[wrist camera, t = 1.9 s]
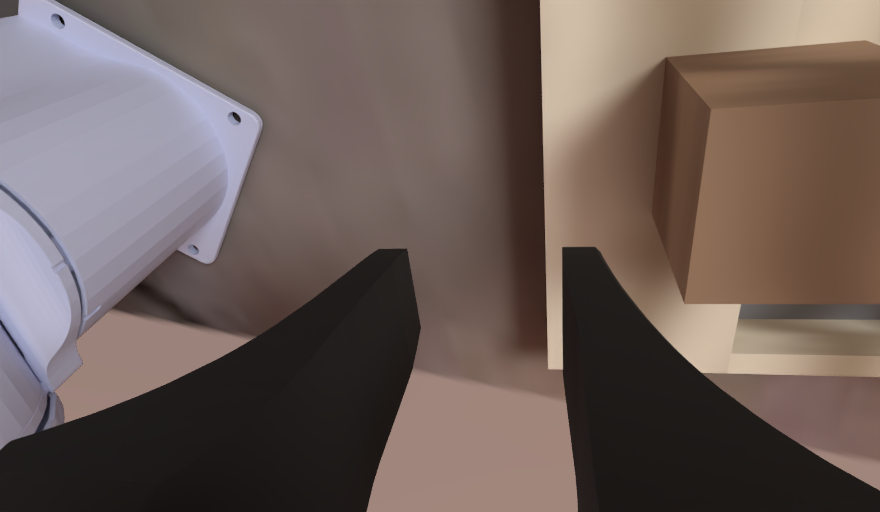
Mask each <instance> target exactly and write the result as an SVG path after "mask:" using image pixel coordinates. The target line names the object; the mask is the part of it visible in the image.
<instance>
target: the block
mask: <svg viewBox="0 0 880 512" xmlns="http://www.w3.org/2000/svg"><path fill="white" fill-rule="evenodd" d="M652 216H653V219H654V222H655V224H656V227H657V230H658V233H659V235H660V238H661V241H662V244H663V247H664V249H665V252H666V255H667V258H668V260H669V263H670V266H671V269H672V271H673V274H674V277H675V280H676V282H677V285H678V288H679V291H680V294H681V296H682V299H683V302H684V304H880V45H877V44H874V43H872V42H869V41H867V40H862V41H850V42H838V43H826V44H815V45H803V46H791V47H779V48H767V49H756V50H744V51H732V52H720V53H708V54H697V55H685V56H673V57H666V61H665V72H664V83H663V94H662V105H661V117H660V128H659V139H658V150H657V161H656V172H655V183H654V194H653V205H652Z"/></svg>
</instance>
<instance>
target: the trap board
mask: <svg viewBox="0 0 880 512" xmlns="http://www.w3.org/2000/svg"><path fill="white" fill-rule="evenodd" d="M540 24H541V68H542V113H543V158H544V202H545V247H546V292H547V336H548V369H563V335H562V247H596V248H597V249H598V250H599V251H600V252H601V254H602V256H603V258H604V259H605V261H606V263H607V265H608V266H609V268H610V269H611V271H612V273H613V274H614V275H615V277H616V278H617V280H618V281H619V283H620V284H621V286H622V287H623V288H624V290H625V291H626V292H627V294H628V295H629V296H630V298H631V299H632V300H633V301H634V303H635V304H636V305H637V306H638V308H639V309H640V310H641V311H642V313H643V314H644V315H645V316H646V317H647V319H648V320H649V321H650V322H651V323H652V324H653V325H654V326H655V328H656V329H657V330H658V331H659V332H660V333H661V334H662V335H663V336H664V337H665V338H666V340H667V341H668V342H669V343H670V344H671V345H672V346H673V347H674V348H675V349H676V350H677V351H678V352H679V353H680V354H681V355H682V356H683V357H685V358H686V359H687V360H688V361H689V362H690V363H691V364H692V365H693V366H694V367H695V368H697V369H698V370H699V371H700V372H701V373H734V374H775V375H817V376H859V377H880V304H684V302H683V299H682V296H681V294H680V291H679V288H678V285H677V282H676V280H675V277H674V274H673V271H672V269H671V266H670V263H669V260H668V258H667V255H666V252H665V249H664V247H663V244H662V241H661V238H660V235H659V233H658V230H657V227H656V224H655V222H654V219H653V216H652V205H653V194H654V183H655V172H656V161H657V150H658V139H659V128H660V117H661V105H662V94H663V83H664V72H665V61H666V57H673V56H685V55H697V54H708V53H720V52H732V51H744V50H756V49H767V48H779V47H791V46H803V45H815V44H826V43H838V42H850V41H862V40H867V41H869V42H872V43H874V44H877V45H880V0H540Z"/></svg>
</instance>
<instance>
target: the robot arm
mask: <svg viewBox="0 0 880 512" xmlns="http://www.w3.org/2000/svg"><path fill="white" fill-rule="evenodd" d="M59 15H60V16H61V17H62V18H63V20H64V22H65V26H64V25H63V24H62V23H61V21H60V19H59ZM233 112H235V113H237V114H238V115H239V116H240V118H241V122H238V121H236V120H235V119H234V117H233ZM262 127H263V123H262V120H261V118H260V117H259V115H258V114H257V113H255V112H254V111H252V110H250V109H249V108H247V107H245V106H243V105H241V104H240V103H238V102H236V101H234V100H233V99H231V98H229V97H227V96H225V95H224V94H222V93H220V92H218V91H216V90H215V89H213V88H211V87H209V86H207V85H206V84H204V83H202V82H200V81H198V80H197V79H195V78H193V77H191V76H189V75H188V74H186V73H184V72H182V71H180V70H179V69H177V68H175V67H173V66H171V65H170V64H168V63H166V62H164V61H162V60H161V59H159V58H157V57H155V56H153V55H152V54H150V53H148V52H146V51H145V50H143V49H141V48H139V47H137V46H136V45H134V44H132V43H130V42H128V41H127V40H125V39H123V38H121V37H119V36H118V35H116V34H114V33H112V32H110V31H109V30H107V29H105V28H103V27H101V26H100V25H98V24H96V23H94V22H92V21H91V20H89V19H87V18H85V17H83V16H82V15H80V14H78V13H76V12H74V11H73V10H71V9H69V8H67V7H65V6H64V5H62V4H60V3H58V2H57V1H55V0H19V9H18V15H16V16H11V17H5V18H0V512H366V511H367V507H368V503H369V498H370V495H371V490H372V486H373V482H374V479H375V476H376V473H377V469H378V466H379V463H380V460H381V457H382V454H383V451H384V449H385V446H386V443H387V440H388V437H389V435H390V432H391V429H392V426H393V423H394V421H395V418H396V415H397V412H398V409H399V407H400V404H401V401H402V398H403V395H404V392H405V389H406V386H407V384H408V381H409V378H410V375H411V372H412V369H413V364H414V359H415V355H416V350H417V345H418V340H419V334H420V329H421V326H420V320H419V315H418V309H417V303H416V297H415V292H414V286H413V280H412V274H411V269H410V263H409V257H408V251H407V249H378V250H377V251H375V252H374V253H372V254H371V255H369V256H368V257H367V258H365V259H364V260H363V261H361V262H360V263H359V264H357V265H356V266H355V267H354V268H352V269H351V270H350V271H348V272H347V273H346V274H345V275H343V276H342V277H341V278H339V279H338V280H337V281H336V282H334V283H333V284H332V285H330V286H329V287H328V288H327V289H325V290H324V291H323V292H321V293H320V294H319V295H317V296H316V297H315V298H313V299H312V300H311V301H309V302H308V303H306V304H305V305H303V306H302V307H301V308H299V309H298V310H296V311H295V312H293V313H292V314H291V315H289V316H288V317H286V318H285V319H284V320H282V321H281V322H279V323H278V324H276V325H275V326H273V327H272V328H270V329H269V330H267V331H266V332H264V333H262V334H261V335H259V336H257V337H256V338H254V339H253V340H251V341H249V342H247V343H246V344H244V345H242V346H240V347H239V348H237V349H235V350H234V351H232V352H230V353H228V354H226V355H224V356H223V357H221V358H219V359H217V360H215V361H213V362H211V363H209V364H207V365H205V366H203V367H201V368H199V369H196V370H195V371H192V372H191V373H188V374H186V375H185V376H182V377H180V378H178V379H176V380H174V381H172V382H170V383H168V384H166V385H163V386H161V387H159V388H156V389H154V390H152V391H149V392H147V393H145V394H142V395H140V396H138V397H135V398H132V399H130V400H127V401H125V402H122V403H120V404H117V405H115V406H112V407H109V408H107V409H104V410H102V411H99V412H96V413H93V414H91V415H88V416H85V417H82V418H79V419H76V420H73V421H70V422H67V423H64V409H63V405H62V402H61V401H60V399H59V397H58V396H57V394H55V392H54V391H55V390H56V389H57V388H58V387H60V386H61V385H62V384H63V382H65V381H66V380H67V379H68V378H69V377H70V376H71V375H72V374H73V373H74V372H75V371H76V370H77V369H78V368H79V367H80V366H81V365H82V364H83V363H82V360H81V358H80V356H79V354H78V351H77V347H76V340H77V339H78V338H79V337H80V336H82V335H83V334H84V333H85V332H86V331H87V330H88V329H89V328H90V327H91V326H93V325H94V324H95V323H96V322H97V321H98V320H99V319H100V318H101V317H103V315H105V314H106V313H107V312H108V311H109V310H110V309H111V308H113V307H114V306H115V305H116V304H117V303H118V302H119V301H120V300H121V299H122V298H124V297H125V296H126V295H127V294H128V293H129V292H130V291H131V290H132V289H134V288H135V287H136V286H137V285H138V284H139V283H140V282H141V281H142V280H143V279H145V278H146V277H147V276H148V275H149V274H150V273H151V272H152V271H153V270H155V269H156V268H157V267H158V266H159V265H160V264H161V263H162V262H163V261H165V260H166V259H167V258H168V257H169V256H170V255H171V254H172V253H173V252H174V251H176V250H179V251H181V252H182V253H184V254H186V255H188V256H190V257H192V258H194V259H196V260H198V261H200V262H202V263H205V264H210V263H212V262H213V261H214V260H215V259H216V258H217V257H218V254H219V251H220V248H221V245H222V243H223V240H224V237H225V234H226V231H227V228H228V225H229V223H230V220H231V217H232V214H233V211H234V208H235V205H236V203H237V200H238V197H239V194H240V191H241V188H242V185H243V183H244V180H245V177H246V174H247V171H248V168H249V165H250V163H251V160H252V157H253V154H254V151H255V148H256V145H257V142H258V140H259V137H260V134H261V131H262ZM193 245H195V246H196V247H197V248H198V250H197V249H195V248H194V247H193ZM562 335H563V379H564V387H565V395H566V403H567V411H568V419H569V427H570V435H571V443H572V451H573V459H574V467H575V475H576V485H577V498H578V512H880V491H879V490H878V489H876V488H874V487H872V486H870V485H869V484H867V483H865V482H863V481H861V480H859V479H858V478H856V477H854V476H852V475H851V474H849V473H847V472H845V471H843V470H841V469H840V468H838V467H836V466H834V465H833V464H831V463H829V462H827V461H826V460H824V459H822V458H821V457H819V456H818V455H816V454H814V453H813V452H811V451H810V450H808V449H807V448H805V447H803V446H802V445H800V444H799V443H797V442H796V441H794V440H792V439H791V438H789V437H788V436H786V435H785V434H783V433H781V432H780V431H778V430H777V429H775V428H774V427H772V426H771V425H770V424H768V423H767V422H765V421H764V420H762V419H761V418H759V417H758V416H756V415H755V414H754V413H752V412H751V411H750V410H748V409H747V408H746V407H744V406H743V405H742V404H740V403H739V402H738V401H736V400H735V399H734V398H732V397H731V396H730V395H728V394H727V393H726V392H724V391H723V390H722V389H720V388H719V387H718V386H716V385H715V384H714V383H713V382H712V381H710V380H709V379H708V378H707V377H706V376H704V375H703V374H702V373H701V372H700V371H699V370H698V369H697V368H695V367H694V366H693V365H692V364H691V363H690V362H689V361H688V360H687V359H686V358H685V357H683V356H682V355H681V354H680V353H679V352H678V351H677V350H676V349H675V348H674V347H673V346H672V345H671V344H670V343H669V342H668V341H667V340H666V338H665V337H664V336H663V335H662V334H661V333H660V332H659V331H658V330H657V329H656V328H655V326H654V325H653V324H652V323H651V322H650V321H649V320H648V319H647V317H646V316H645V315H644V314H643V313H642V311H641V310H640V309H639V308H638V306H637V305H636V304H635V303H634V301H633V300H632V299H631V298H630V296H629V295H628V294H627V292H626V291H625V290H624V288H623V287H622V286H621V284H620V283H619V281H618V280H617V278H616V277H615V275H614V274H613V273H612V271H611V269H610V268H609V266H608V265H607V263H606V261H605V259H604V258H603V256H602V254H601V252H600V251H599V250H598V249H597V248H596V247H562Z"/></svg>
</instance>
